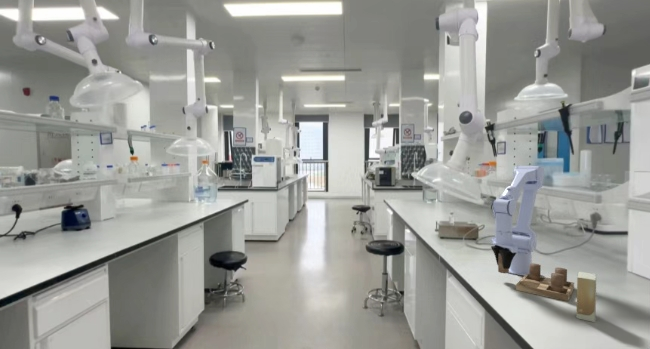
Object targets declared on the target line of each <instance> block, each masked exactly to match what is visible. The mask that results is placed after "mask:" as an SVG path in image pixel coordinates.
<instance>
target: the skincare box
mask: <svg viewBox="0 0 650 349" xmlns="http://www.w3.org/2000/svg"><path fill="white" fill-rule="evenodd" d="M576 276H577V278H576V279H577V280H576V283H577V284H576V285H577V286H576V318H577V319H579V320H582V321H587V322H590V323H591V322H593V323H596V320H597V318H596V317H597V316H596V313H597V312H596V310H597V306H596V305H597V274H596V273H589V272H584V271H578V272H577V275H576Z"/></svg>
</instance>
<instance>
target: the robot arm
mask: <svg viewBox="0 0 650 349" xmlns="http://www.w3.org/2000/svg"><path fill="white" fill-rule="evenodd" d="M544 178H545V171H544V168H543V166H542V165H515V167H514V169H513V180H512V182H511V185H510V186H506V187H505V189H504V191H503V192H502V193H501V195H500V196H499V197H498V198H497V199H494V200H493V203H492V207H491V209H492V212H493V218H494V220H495V221H494V222H495V223H494V238H490V244H492V245H491V247H490V248H491V250H492V251H493V254H494V256H495V261H496V265H497V266H498V253H499V252H500V253H501V256H502V263H503V268H504V269H509V273H508V274H512V275H518V276H523V277H524V276H525V275H526V274H529V264H531V263H533V255H532V252H533V253H534V251H535V250H536V248H537V233H536V232H535V231H534V230H533V229H532V228H531V225H532V220H533V214H534V208H535V204H536V199H537V195H538V190H539V189H541V188H542V187H543V184H544ZM521 190H522V192H521ZM519 198H521V199H520V200H521V201H520V206H519V211H518V216H517V221H516V225H514V226H513V215H514V214H515V212H516V209H517V202H518V200H519Z"/></svg>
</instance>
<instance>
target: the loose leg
mask: <svg viewBox="0 0 650 349" xmlns="http://www.w3.org/2000/svg"><path fill="white" fill-rule="evenodd" d="M497 271H498V273H501V274H510V273H509V269H504V268H503V263H502V256H501V253H500V252H499V253H498V265H497Z"/></svg>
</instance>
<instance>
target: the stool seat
mask: <svg viewBox="0 0 650 349" xmlns="http://www.w3.org/2000/svg"><path fill="white" fill-rule="evenodd" d="M574 289H575V282H572V281H568V269H566V268H563V267H555V268H554V272H551V273H550V277H546V276H542V275H541V264H539V263H533V262H532V263H531V264H529V274H526V275H525V276H523V277H522V278H521V279H520V280H519V281H517V283H515V290H516V291H519V292H523V293H529V294H534V295H536V296H537V295H538V296H542V297H545V298H546V297H547V298H552V299H556V300H562V301H565V302H569V300H570V299H571V296H572V294H573V291H574Z"/></svg>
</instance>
